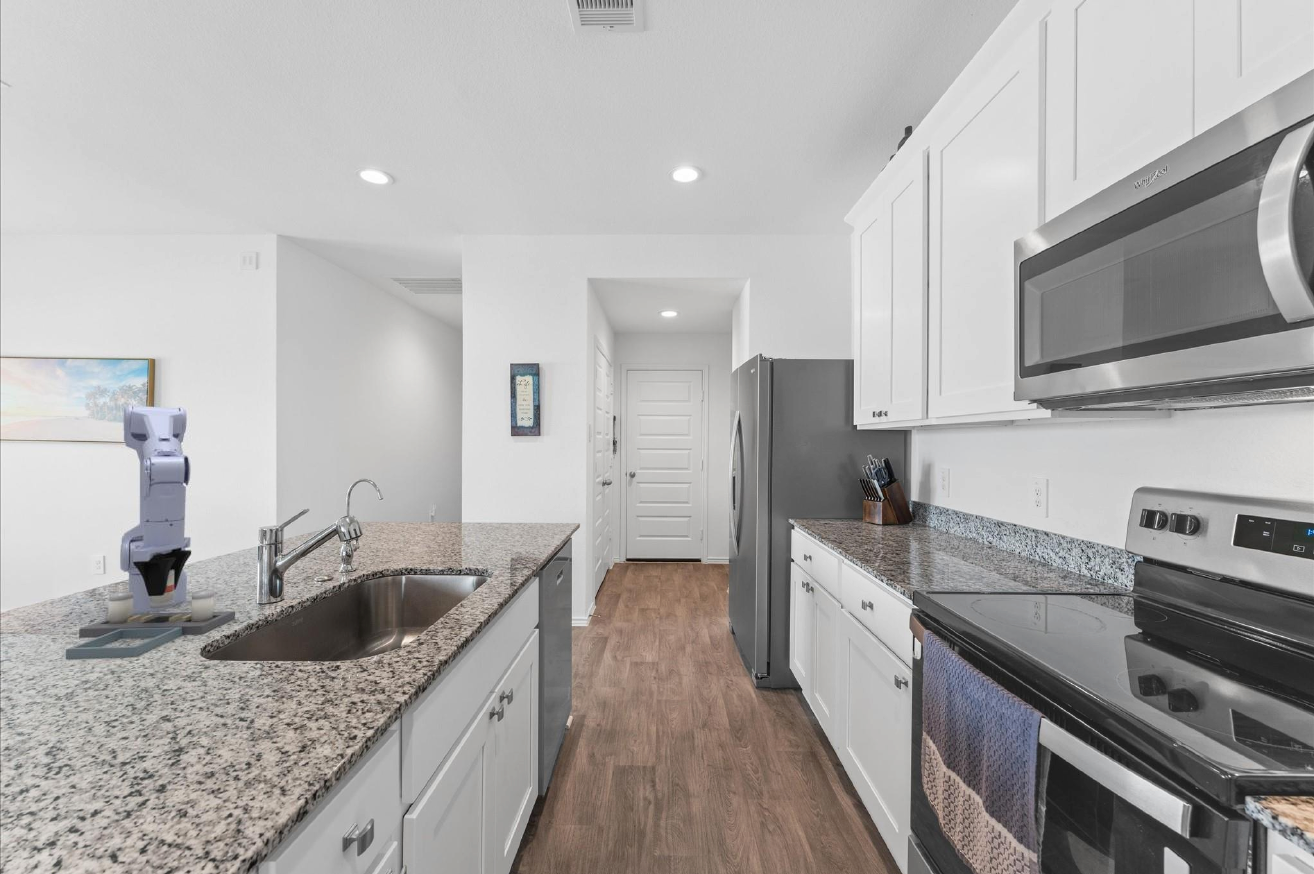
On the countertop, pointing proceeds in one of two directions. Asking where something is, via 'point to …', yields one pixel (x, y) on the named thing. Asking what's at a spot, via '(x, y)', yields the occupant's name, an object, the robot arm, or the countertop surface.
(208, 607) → the fuse
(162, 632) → the tray
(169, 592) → the marked fuse
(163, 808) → the countertop surface
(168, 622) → the fuse holder
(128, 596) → the fuse
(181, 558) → the robot arm
